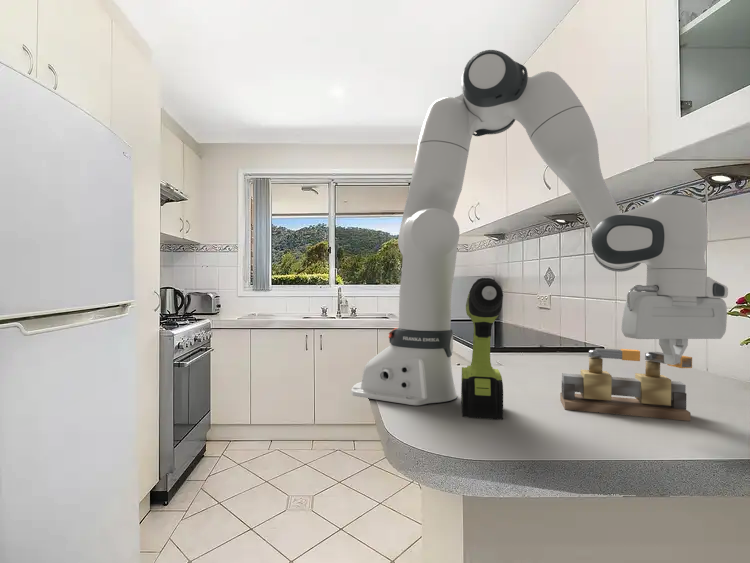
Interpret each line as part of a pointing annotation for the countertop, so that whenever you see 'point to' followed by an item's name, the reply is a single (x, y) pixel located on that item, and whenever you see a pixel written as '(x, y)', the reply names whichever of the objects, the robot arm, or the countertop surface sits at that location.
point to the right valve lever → (659, 357)
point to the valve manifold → (625, 393)
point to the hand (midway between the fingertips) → (672, 364)
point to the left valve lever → (616, 354)
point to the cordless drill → (482, 354)
